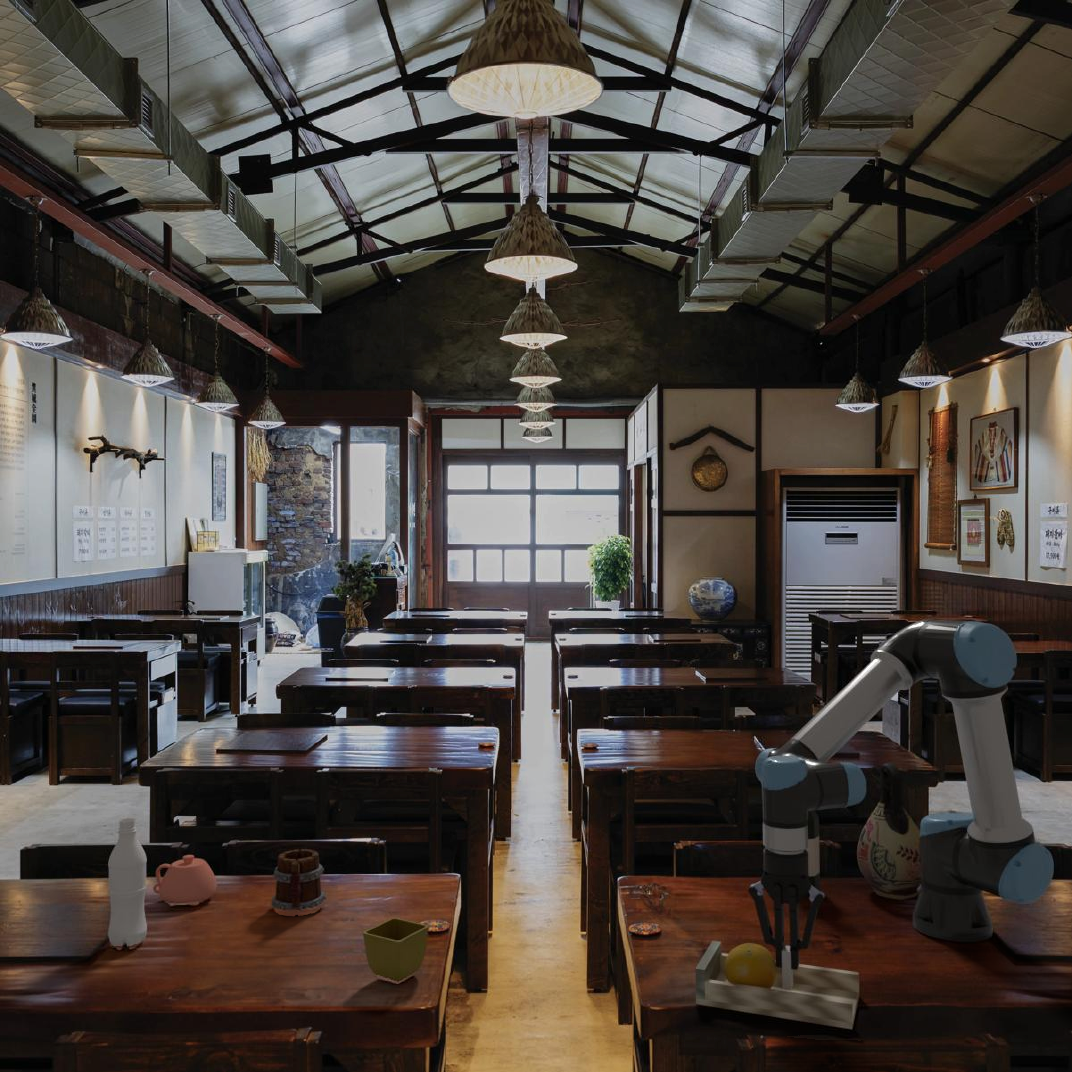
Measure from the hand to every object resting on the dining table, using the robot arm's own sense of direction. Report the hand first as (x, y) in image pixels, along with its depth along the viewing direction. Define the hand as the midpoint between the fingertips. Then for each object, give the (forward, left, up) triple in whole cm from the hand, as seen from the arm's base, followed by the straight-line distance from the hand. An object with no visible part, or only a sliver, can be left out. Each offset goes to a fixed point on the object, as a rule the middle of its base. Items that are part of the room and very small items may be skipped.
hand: (787, 986), depth 172 cm
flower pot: (+68, +16, -3) cm, 70 cm away
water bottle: (+126, +22, -3) cm, 128 cm away
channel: (+1, 0, -3) cm, 3 cm away
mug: (+106, -7, -3) cm, 106 cm away
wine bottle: (+6, -60, -3) cm, 61 cm away
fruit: (+6, +1, -2) cm, 6 cm away
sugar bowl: (+134, -3, -3) cm, 134 cm away
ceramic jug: (-14, -64, -3) cm, 66 cm away
